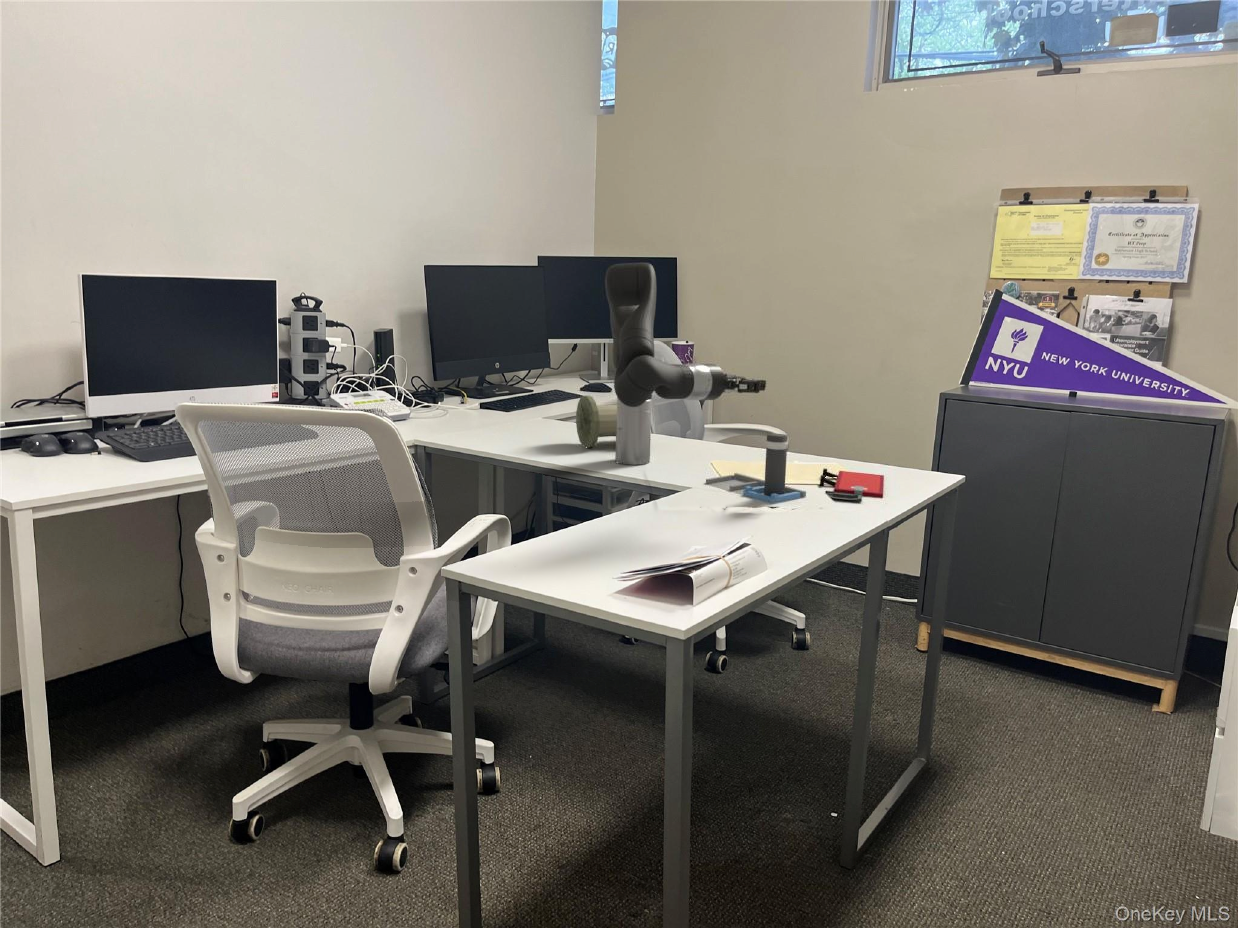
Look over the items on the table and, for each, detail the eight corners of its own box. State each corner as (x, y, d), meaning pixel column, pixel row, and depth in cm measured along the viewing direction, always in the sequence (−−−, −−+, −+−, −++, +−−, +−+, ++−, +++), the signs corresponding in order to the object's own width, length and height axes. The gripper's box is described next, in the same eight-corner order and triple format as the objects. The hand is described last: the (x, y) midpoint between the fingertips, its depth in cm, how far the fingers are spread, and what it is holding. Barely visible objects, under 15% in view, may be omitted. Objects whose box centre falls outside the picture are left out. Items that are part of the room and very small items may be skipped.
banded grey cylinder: (766, 498, 201) (769, 437, 198) (761, 493, 206) (764, 433, 203) (786, 498, 201) (790, 437, 198) (781, 493, 206) (785, 433, 203)
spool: (593, 452, 253) (594, 400, 249) (575, 442, 266) (576, 392, 263) (646, 449, 259) (648, 398, 256) (626, 439, 272) (627, 391, 269)
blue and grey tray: (704, 488, 214) (704, 476, 213) (736, 482, 220) (737, 470, 220) (772, 508, 197) (773, 495, 196) (805, 501, 204) (806, 488, 203)
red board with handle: (815, 499, 206) (882, 507, 202) (816, 487, 206) (883, 495, 202) (824, 474, 234) (883, 480, 230) (825, 464, 234) (884, 470, 230)
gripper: (725, 368, 178) (777, 369, 189) (675, 359, 188) (727, 361, 199) (720, 405, 179) (772, 404, 190) (671, 394, 190) (723, 394, 200)
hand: (749, 382), depth 195 cm, fingers open, 8 cm apart
